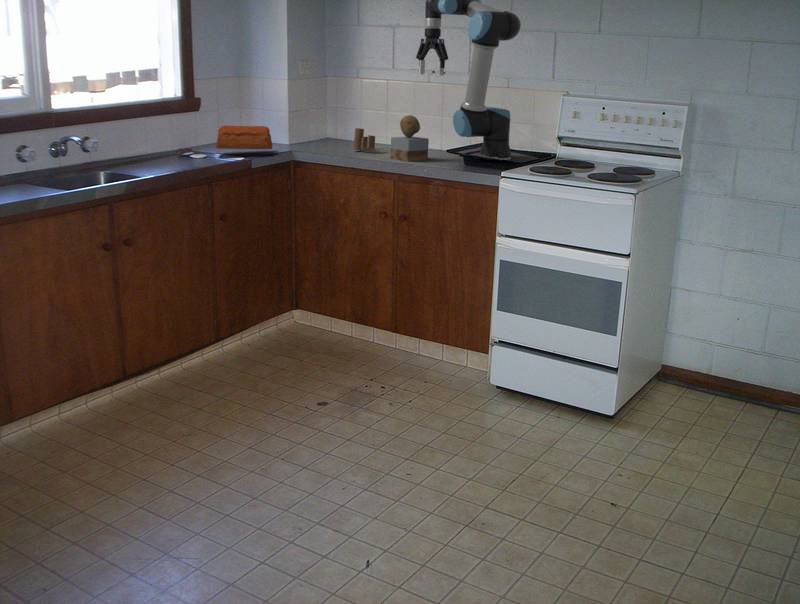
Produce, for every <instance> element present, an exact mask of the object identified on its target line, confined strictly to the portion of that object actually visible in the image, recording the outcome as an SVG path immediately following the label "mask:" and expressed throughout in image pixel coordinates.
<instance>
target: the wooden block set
mask: <svg viewBox="0 0 800 604" xmlns="http://www.w3.org/2000/svg"><path fill="white" fill-rule="evenodd" d="M364 133H365V129H364V128H360V127H357V128H354V140H353V150H354V151H362V150H364V151H368V150H374V149H375V143H376V136H375V135H370V134H369V135H367V136H364Z"/></svg>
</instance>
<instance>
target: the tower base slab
mask: <svg viewBox="0 0 800 604" xmlns="http://www.w3.org/2000/svg"><path fill="white" fill-rule="evenodd" d="M428 156H429V149H428V150H418V151H404V150H397V149H391V148H390V160H395V161H401V162H407V163H409V162H422V161H423V162H424V161H428V159H429V157H428Z"/></svg>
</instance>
